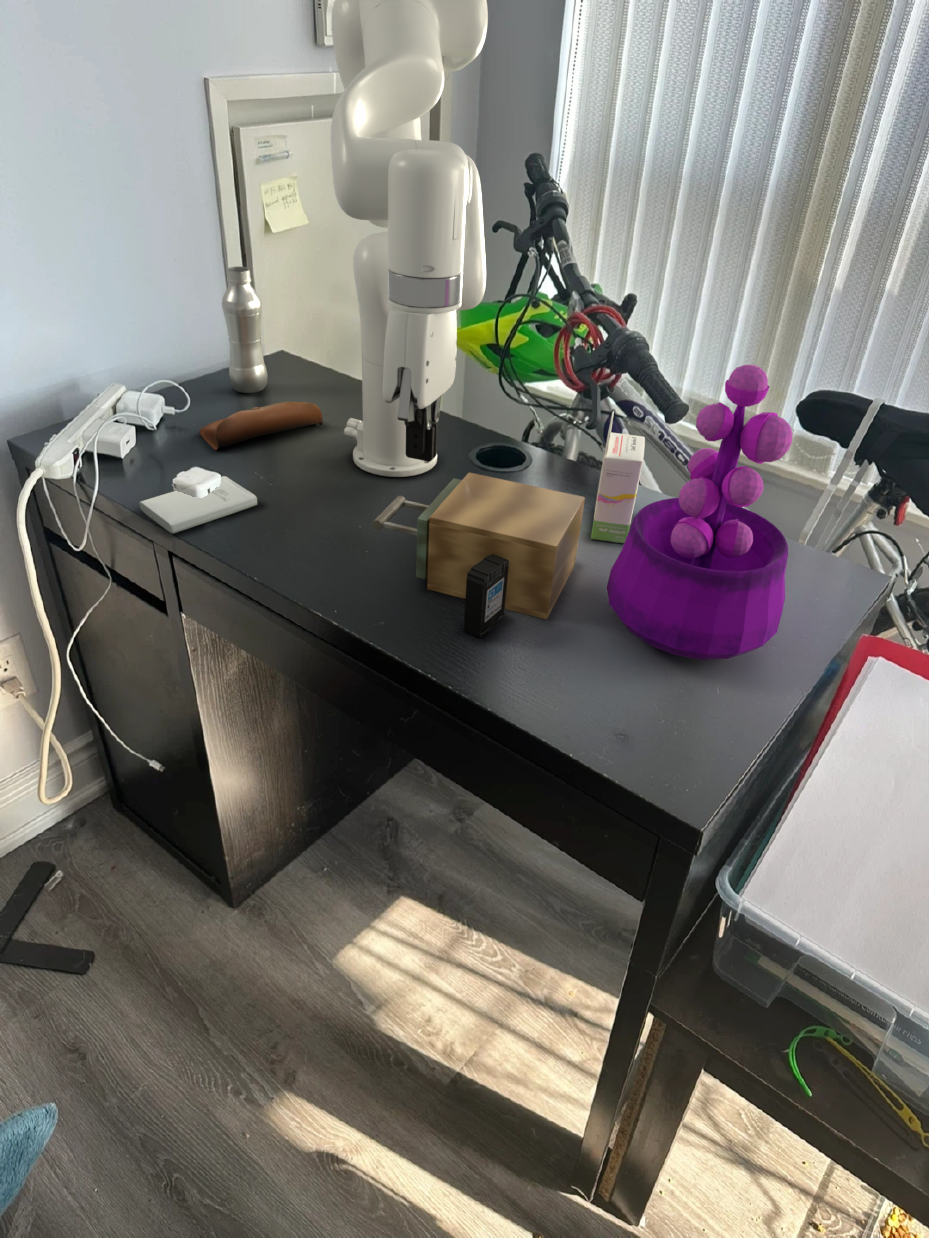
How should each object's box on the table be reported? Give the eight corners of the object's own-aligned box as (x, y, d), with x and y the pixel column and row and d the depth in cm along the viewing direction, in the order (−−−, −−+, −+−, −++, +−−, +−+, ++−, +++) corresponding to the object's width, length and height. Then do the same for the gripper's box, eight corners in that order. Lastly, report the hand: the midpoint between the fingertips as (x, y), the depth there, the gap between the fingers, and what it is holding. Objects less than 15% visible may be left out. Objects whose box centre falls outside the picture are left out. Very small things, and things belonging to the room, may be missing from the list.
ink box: (628, 545, 109) (648, 439, 100) (589, 540, 110) (607, 433, 101) (630, 515, 116) (650, 413, 107) (594, 510, 116) (611, 408, 108)
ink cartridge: (480, 640, 90) (485, 578, 86) (462, 632, 91) (466, 570, 87) (504, 619, 94) (510, 558, 89) (487, 612, 95) (492, 551, 90)
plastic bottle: (224, 395, 143) (210, 272, 132) (239, 382, 149) (227, 262, 137) (260, 399, 143) (249, 276, 131) (274, 386, 148) (265, 266, 137)
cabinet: (427, 589, 98) (429, 517, 92) (464, 540, 108) (468, 472, 102) (546, 620, 94) (556, 546, 89) (574, 566, 104) (585, 496, 98)
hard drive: (140, 511, 109) (224, 484, 117) (172, 536, 105) (257, 506, 112) (138, 500, 108) (223, 474, 116) (170, 524, 104) (256, 495, 111)
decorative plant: (766, 598, 100) (845, 348, 83) (777, 696, 85) (876, 416, 68) (608, 572, 103) (653, 325, 86) (593, 662, 88) (643, 386, 71)
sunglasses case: (297, 408, 139) (305, 380, 134) (317, 441, 138) (326, 414, 132) (194, 431, 130) (199, 402, 124) (214, 466, 128) (220, 439, 123)
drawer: (364, 564, 100) (363, 506, 96) (403, 522, 109) (404, 467, 104) (525, 604, 95) (532, 545, 90) (552, 557, 104) (559, 501, 99)
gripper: (419, 270, 92) (416, 428, 103) (358, 300, 80) (362, 476, 91) (484, 279, 90) (474, 440, 101) (431, 311, 78) (426, 489, 89)
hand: (421, 456), depth 96 cm, fingers closed
